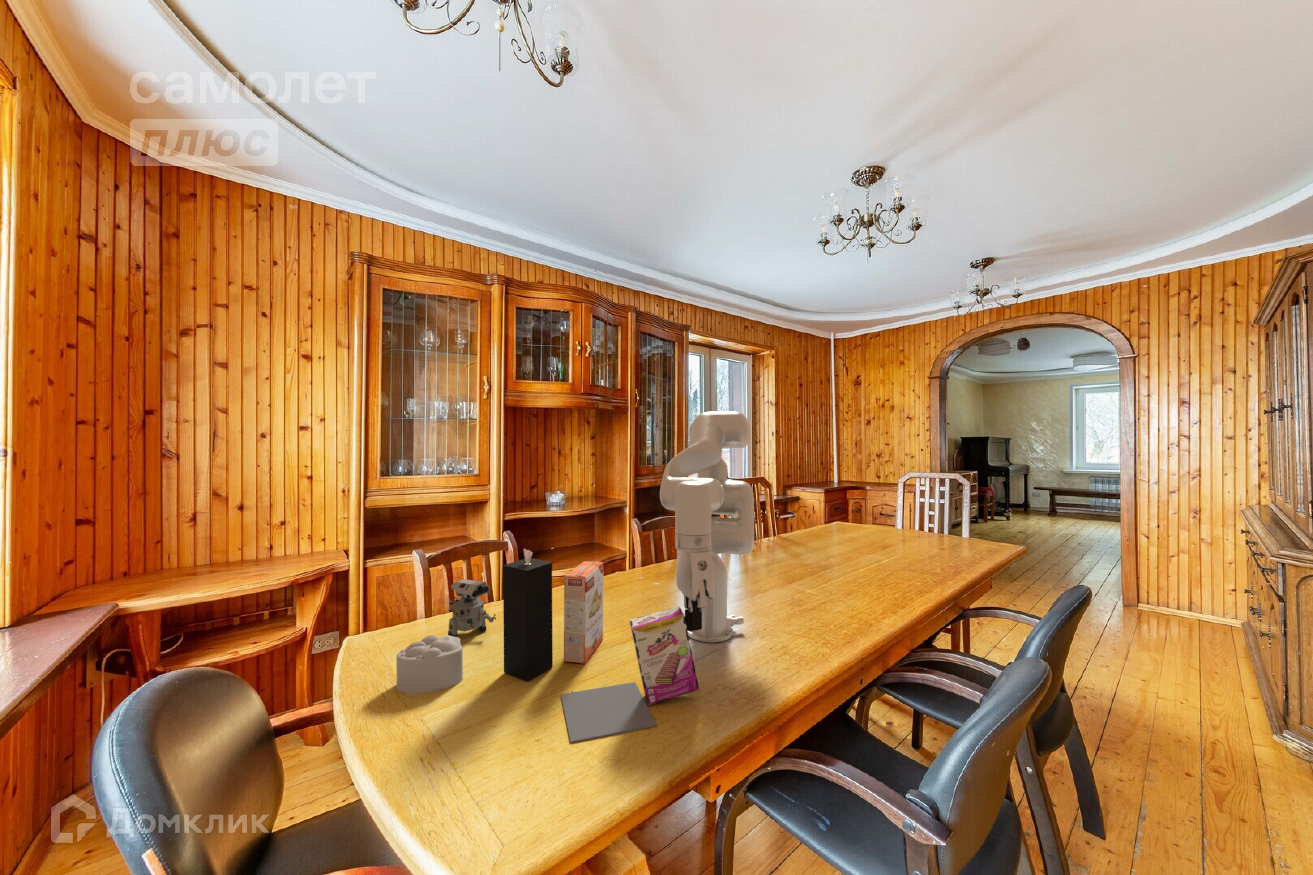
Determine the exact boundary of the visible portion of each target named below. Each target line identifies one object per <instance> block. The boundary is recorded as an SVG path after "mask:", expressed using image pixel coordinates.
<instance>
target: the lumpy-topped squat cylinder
mask: <svg viewBox="0 0 1313 875" xmlns="http://www.w3.org/2000/svg"><path fill="white" fill-rule="evenodd" d="M458 637H459V636H458ZM458 637H453V636H449V635H445V636H442V637H438V636H437V635H436V634H429V635H426V636H425V637H423V638H422V639H421V640H419V641H418V640H417V641H413V642H412V643H410V644H409V645H408V646H406V647H404V648H403V649H401V650H400V651H399V652H397V654H396V690H397V691H398V692H400V693H404V694H410V695H422V694H427V693H432V692H437V691H441V690H445V689H449V688H451V687H454V686H457V685H459V684H460V683H461V682H462V681H463V678H464V677H463V676H464V675H463V674H464V672H463V671H464V670H463V669H464V668H463V667H464V666H463V662H464V661H463V660H464V659H463V646H462V645H461V638H460V637H459V638H458Z"/></svg>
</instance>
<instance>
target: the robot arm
mask: <svg viewBox="0 0 1313 875" xmlns="http://www.w3.org/2000/svg"><path fill="white" fill-rule="evenodd" d="M688 434H689V442H688V446H687V447H686V448H684V449H683V450H681V451H680V452H679V453H677V454H676V455H675V456H673V457H672V458H671V459H670V460H669V461H668V463H666V466H665V468H664V471H663V474H662V479H661V483H660V487H659V488H660V489H659V500H660V503H661V506H662V507H663V508H664V509H665V510H669V511H674V512H675V513H674V514H675V515H674V516H675V517H674V519H675V520H674V522H675V523H674V524H675V525H674V528H675V529H674V530H675V531H674V534H675V537H674V538H675V541H674V542H675V543H674V548H675V549H676V550H677V554H676V569H675V570H676V572H675V578H676V587H677V589H678V590H679V591H680V592H681V593H682V596H683V606H684V616H685V621H686V626H687V631H688V636H689V638H691V639H693V640H694V641H697V642H701V643H721V642H725V641H727V640H730V639H731V638H732V637H733V636H734V635H733V634H734V628H732V627H734V626H736V625H737V626H738V625H744V622H745V621H744V618H743V616H737V617H736V615H735V614H730V615H728V570H727V566H726V564H725V563H724V561H723V559H722V557H720V554H721V555H722V554H724V555H748V554H750V553H751V552H752V551H753V549H754V544H755V499H754V498H755V497H754V490H753V488H752V486H751V484H750V483H749V482H746V481H744V480H728V464H727V463H726V461H725V460H724V459H723V457H722V455H723V454H722V453H723V449H744V448H746V447H747V446H748V445H749V442H750V438H751V428H750V424H749V421H748V418H747V417H746V415H745V414H743V413H742V412H740V411H705V412H702V413H700V414H698V415H697V416H696V417H695V418H694V420H693V421H692V423H691V424H690V426H689V433H688ZM695 474H697V477H696V476H695V477H693V476H692V475H695ZM712 515H726V516H735V517H718V516H712Z"/></svg>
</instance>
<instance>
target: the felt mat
mask: <svg viewBox="0 0 1313 875" xmlns="http://www.w3.org/2000/svg"><path fill="white" fill-rule="evenodd" d="M560 697H561V703H562V709H563V713H564V716H565V717H564V718H565V723H566V727H567V732H568V737H569V742H570V744H574V743H579V742H584V741H588V740H594V739H599V738H604V737H608V736H615V735H619V734H624V733H629V732H635V731H640V730H646V729H650V728H654V727H658V724H657V722H656V720H655V718H654V716H653V714H652V713H651V710H650V709H649V707H648V704H647V701H645V699H644V697H643V694H642V693H641V691H640V688H639V686H638V685H637V683H636V681H633V682H627V683H621V684H615V685H609V686H602V687H598V688H597V687H596V688H589V689H585V690H579V691H573V692H566V693H562V694H561V693H560Z"/></svg>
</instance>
